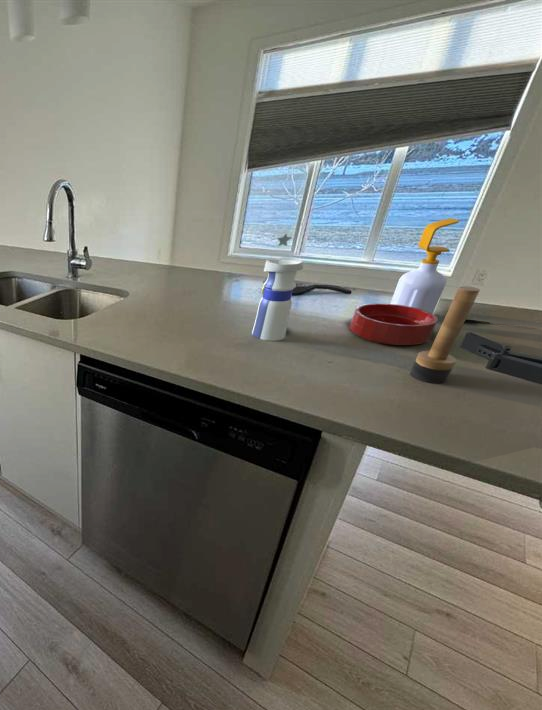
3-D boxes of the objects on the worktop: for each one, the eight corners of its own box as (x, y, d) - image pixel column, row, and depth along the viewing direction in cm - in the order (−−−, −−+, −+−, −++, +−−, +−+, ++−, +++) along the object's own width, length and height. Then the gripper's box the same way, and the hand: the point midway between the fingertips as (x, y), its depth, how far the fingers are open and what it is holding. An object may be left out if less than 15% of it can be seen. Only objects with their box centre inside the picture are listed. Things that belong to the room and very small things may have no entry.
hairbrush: (357, 288, 122) (265, 282, 130) (353, 300, 124) (262, 293, 132) (350, 280, 129) (262, 275, 137) (346, 292, 131) (260, 286, 139)
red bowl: (424, 328, 102) (433, 307, 99) (431, 352, 91) (441, 330, 89) (349, 319, 110) (355, 300, 107) (347, 341, 100) (355, 320, 97)
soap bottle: (437, 322, 104) (483, 222, 92) (395, 321, 107) (434, 223, 94) (419, 310, 112) (459, 215, 99) (380, 309, 114) (414, 217, 102)
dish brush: (444, 373, 84) (487, 285, 74) (448, 385, 80) (494, 294, 70) (408, 368, 87) (446, 282, 77) (411, 379, 83) (450, 291, 73)
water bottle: (242, 331, 109) (260, 235, 97) (270, 326, 111) (291, 231, 98) (263, 343, 102) (286, 241, 90) (293, 337, 103) (319, 236, 91)
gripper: (560, 434, 52) (422, 361, 71) (762, 422, 52) (569, 351, 70) (595, 385, 49) (440, 321, 67) (815, 370, 48) (596, 310, 66)
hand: (506, 336), depth 69 cm, fingers open, 13 cm apart
